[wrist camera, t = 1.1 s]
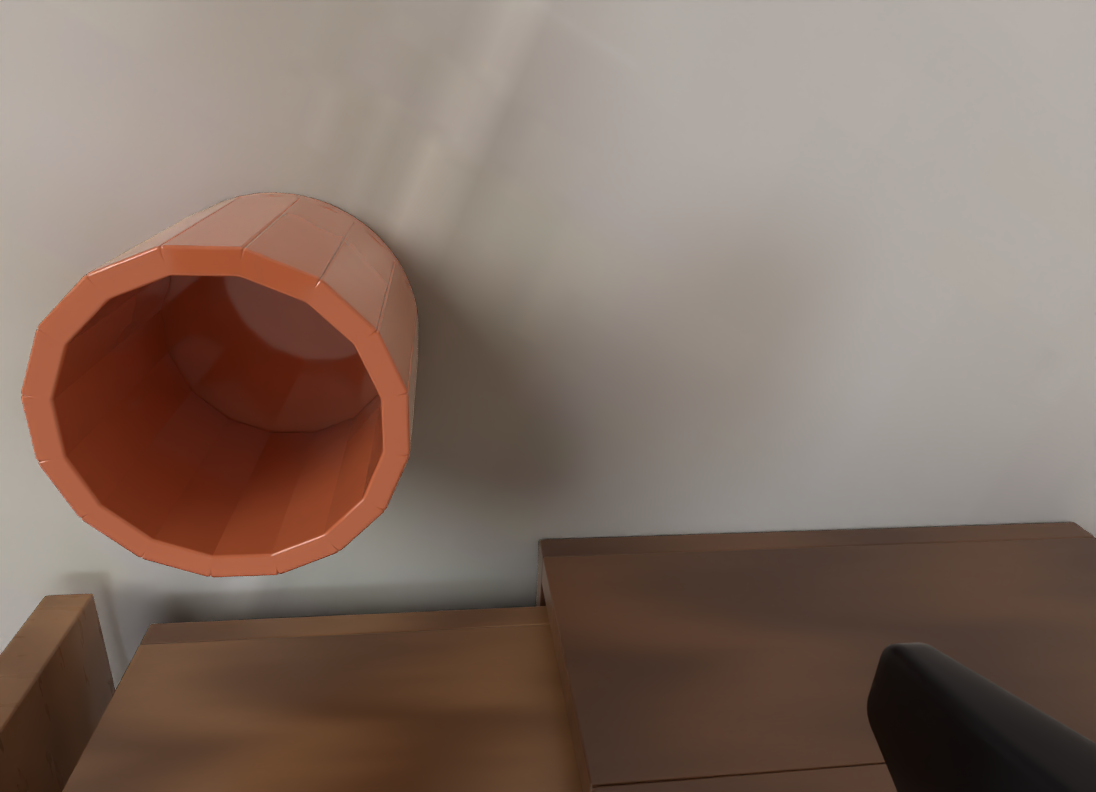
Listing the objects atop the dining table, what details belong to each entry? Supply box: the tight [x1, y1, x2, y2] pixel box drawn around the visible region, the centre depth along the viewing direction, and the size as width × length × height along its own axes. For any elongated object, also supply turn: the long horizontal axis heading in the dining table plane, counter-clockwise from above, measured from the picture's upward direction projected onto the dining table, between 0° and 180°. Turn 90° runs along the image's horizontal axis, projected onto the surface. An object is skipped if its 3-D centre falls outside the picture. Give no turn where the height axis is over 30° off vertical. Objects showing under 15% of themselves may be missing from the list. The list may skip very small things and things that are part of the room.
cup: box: [21, 192, 419, 577], centre depth 16 cm, size 6×6×6 cm
